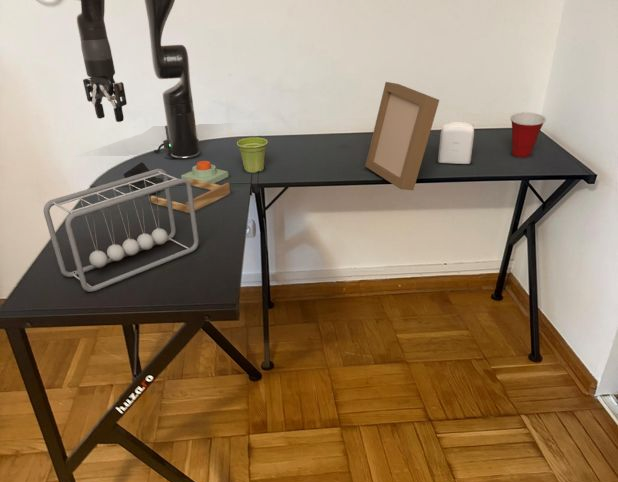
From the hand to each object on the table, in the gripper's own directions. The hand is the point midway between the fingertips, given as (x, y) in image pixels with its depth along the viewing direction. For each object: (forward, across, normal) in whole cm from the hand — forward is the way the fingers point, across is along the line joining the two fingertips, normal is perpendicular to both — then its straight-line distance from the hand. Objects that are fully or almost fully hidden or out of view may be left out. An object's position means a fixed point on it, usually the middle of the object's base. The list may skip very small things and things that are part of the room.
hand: (110, 119), depth 172 cm
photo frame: (+18, -72, -46) cm, 87 cm away
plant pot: (+18, -29, -28) cm, 44 cm away
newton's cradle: (+18, -44, +37) cm, 60 cm away
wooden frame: (+18, -27, 0) cm, 33 cm away
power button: (+15, -21, -14) cm, 29 cm away
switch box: (+18, -21, -14) cm, 31 cm away
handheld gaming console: (+18, -11, 0) cm, 21 cm away
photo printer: (+18, -80, -66) cm, 105 cm away
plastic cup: (+18, -96, -84) cm, 129 cm away
